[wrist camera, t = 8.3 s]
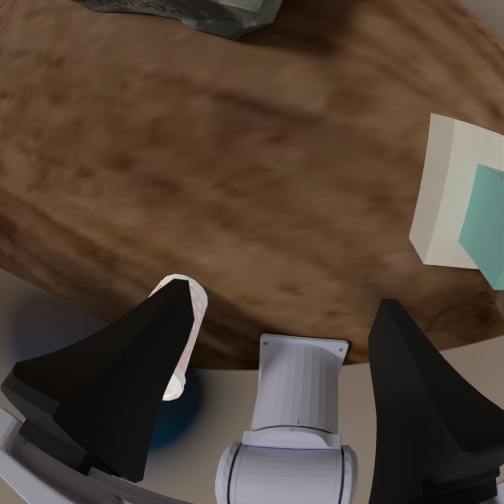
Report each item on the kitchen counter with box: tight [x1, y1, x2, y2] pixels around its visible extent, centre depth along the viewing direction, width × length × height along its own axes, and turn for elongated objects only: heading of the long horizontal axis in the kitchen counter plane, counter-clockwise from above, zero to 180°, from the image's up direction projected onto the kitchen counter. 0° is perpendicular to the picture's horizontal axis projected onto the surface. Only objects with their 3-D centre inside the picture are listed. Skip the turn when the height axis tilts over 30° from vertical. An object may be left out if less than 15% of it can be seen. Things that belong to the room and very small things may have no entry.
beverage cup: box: [149, 274, 208, 400], centre depth 19 cm, size 6×6×14 cm
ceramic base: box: [409, 113, 504, 269], centre depth 15 cm, size 9×9×4 cm
